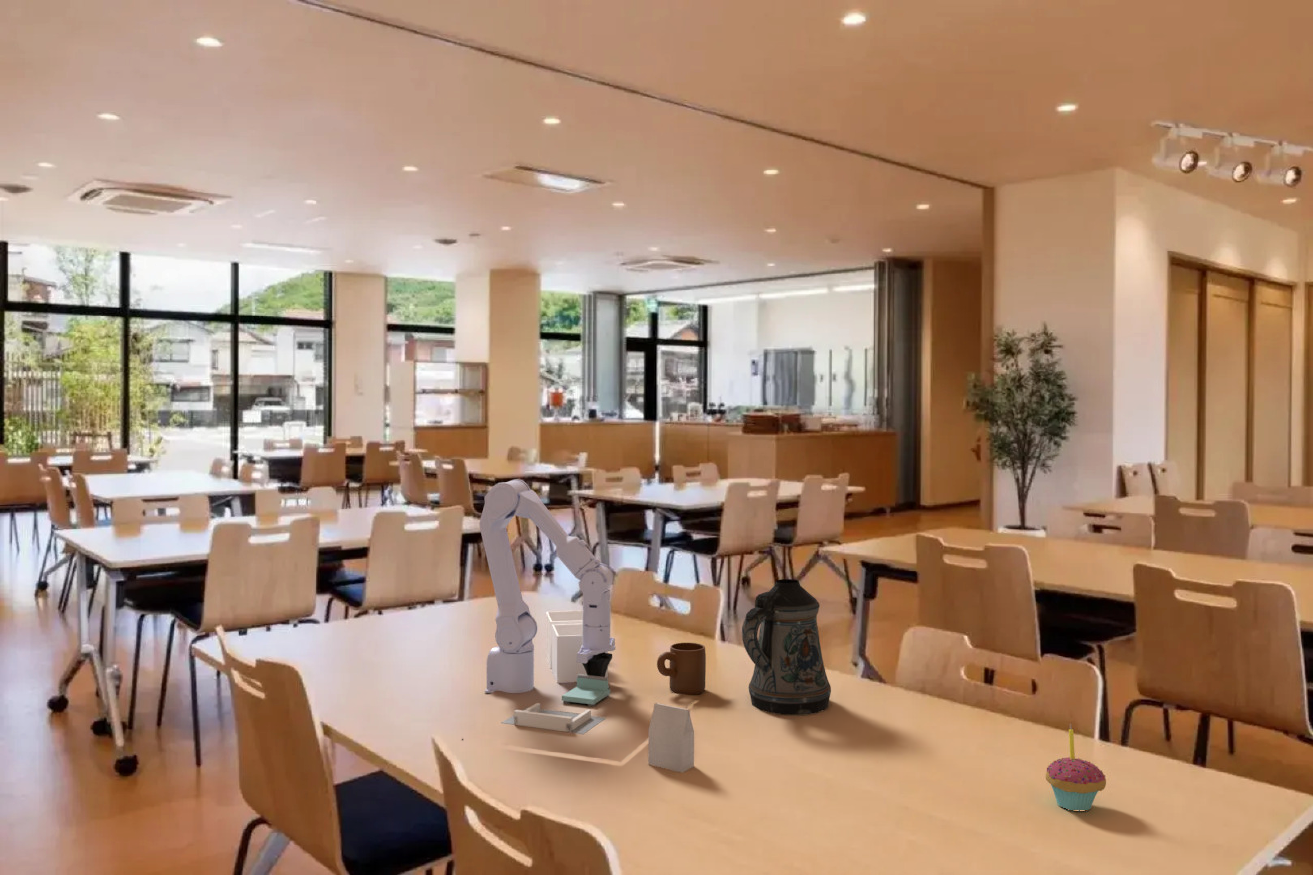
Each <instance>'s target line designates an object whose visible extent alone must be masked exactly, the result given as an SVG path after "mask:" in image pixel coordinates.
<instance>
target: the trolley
mask: <svg viewBox="0 0 1313 875" xmlns="http://www.w3.org/2000/svg"><path fill="white" fill-rule="evenodd" d="M610 694H611V686H609V677H608V678H607V677H601V676H592V675H583V674H578V677H577V682H576V686H575V687H573V688H572V689H570V690H569V691H567V692H566V693H564V694H562V695H561V701H562V704H564V705H567V704H568V705H569V704H572V703H578V704H587V707H589V708H594V707H596V706H597V703H599V702H600V701H601V700H603V699H608V698H609V697H610Z"/></svg>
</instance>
